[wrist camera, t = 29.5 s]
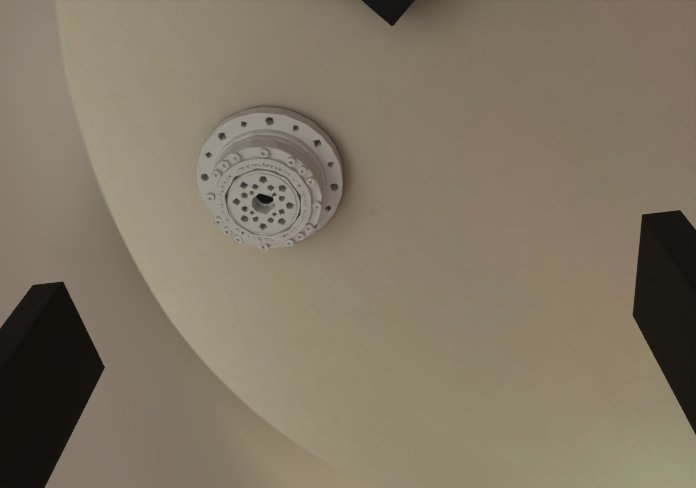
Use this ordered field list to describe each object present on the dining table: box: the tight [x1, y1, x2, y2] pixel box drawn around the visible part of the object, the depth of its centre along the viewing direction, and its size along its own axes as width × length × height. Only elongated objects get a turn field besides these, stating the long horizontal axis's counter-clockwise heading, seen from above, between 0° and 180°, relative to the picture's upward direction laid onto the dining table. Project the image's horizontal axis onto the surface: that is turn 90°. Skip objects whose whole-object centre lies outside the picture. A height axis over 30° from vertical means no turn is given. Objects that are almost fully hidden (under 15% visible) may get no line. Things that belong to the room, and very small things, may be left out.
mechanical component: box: [197, 107, 343, 251], centre depth 43 cm, size 10×4×10 cm
